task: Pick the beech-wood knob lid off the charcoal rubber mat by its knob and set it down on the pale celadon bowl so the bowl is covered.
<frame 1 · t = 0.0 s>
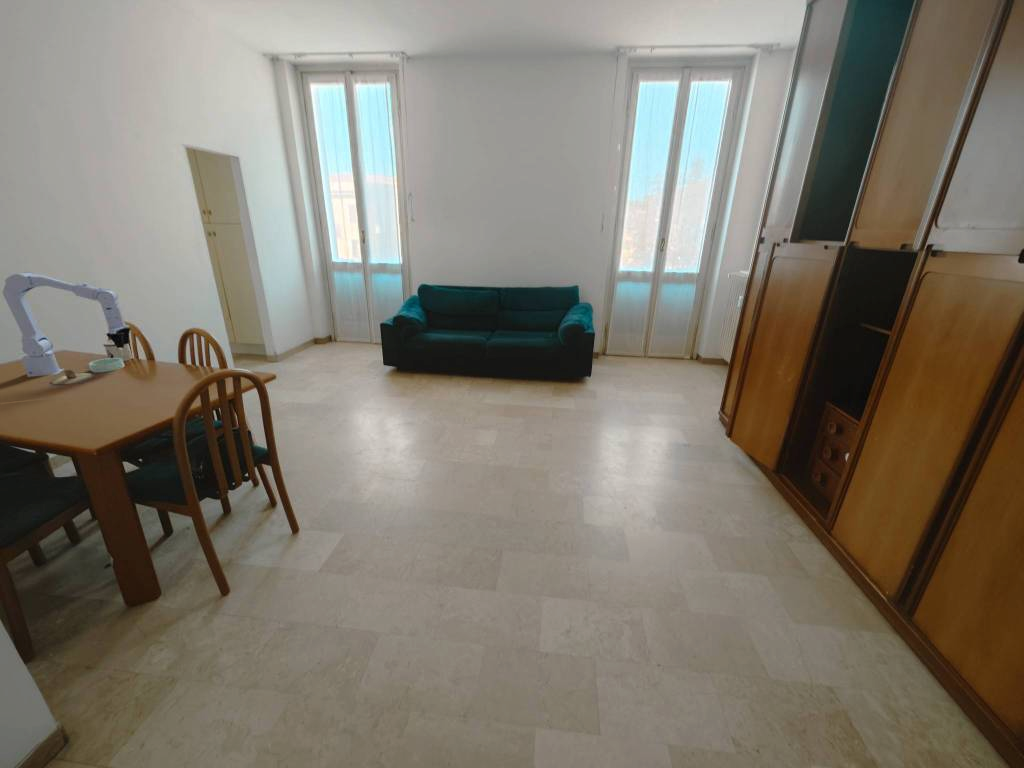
hand: (123, 345, 189), 10 cm above the table, fingers open, 7 cm apart
lid: (72, 379, 172), point 1 cm above the table, touching mat
mat: (73, 380, 173), on the table
teacup with lid: (122, 360, 200), on the table
bowl: (108, 369, 187), on the table
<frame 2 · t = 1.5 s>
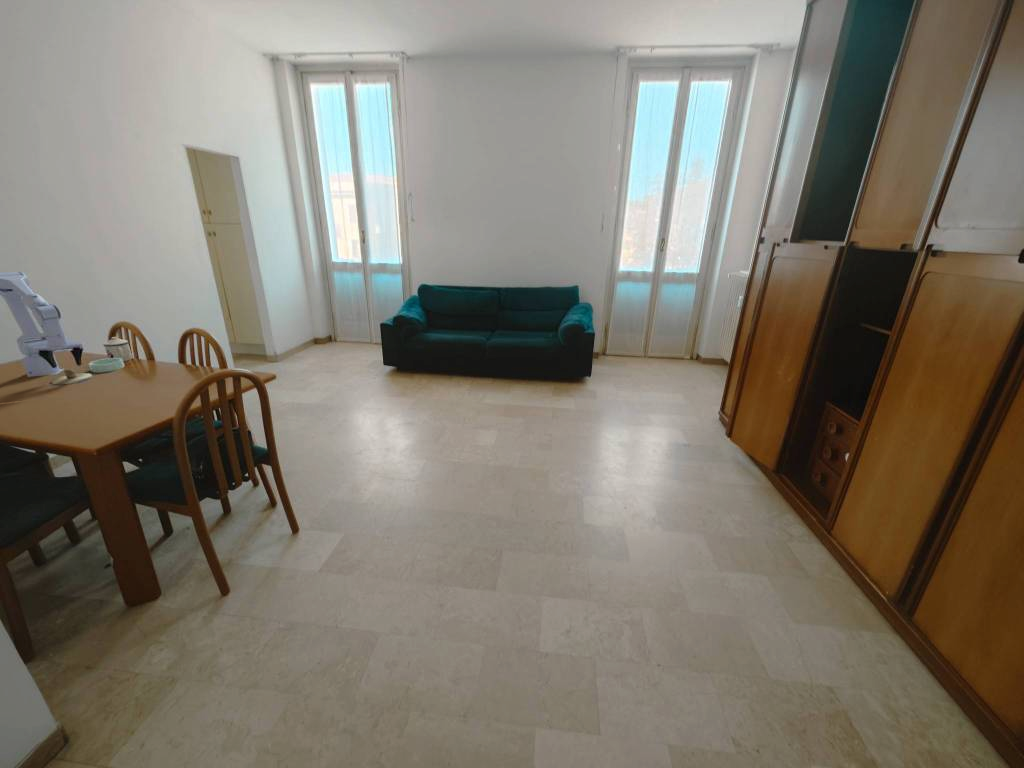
hand: (67, 366, 170), 7 cm above the table, fingers open, 7 cm apart
nothing on the table moved.
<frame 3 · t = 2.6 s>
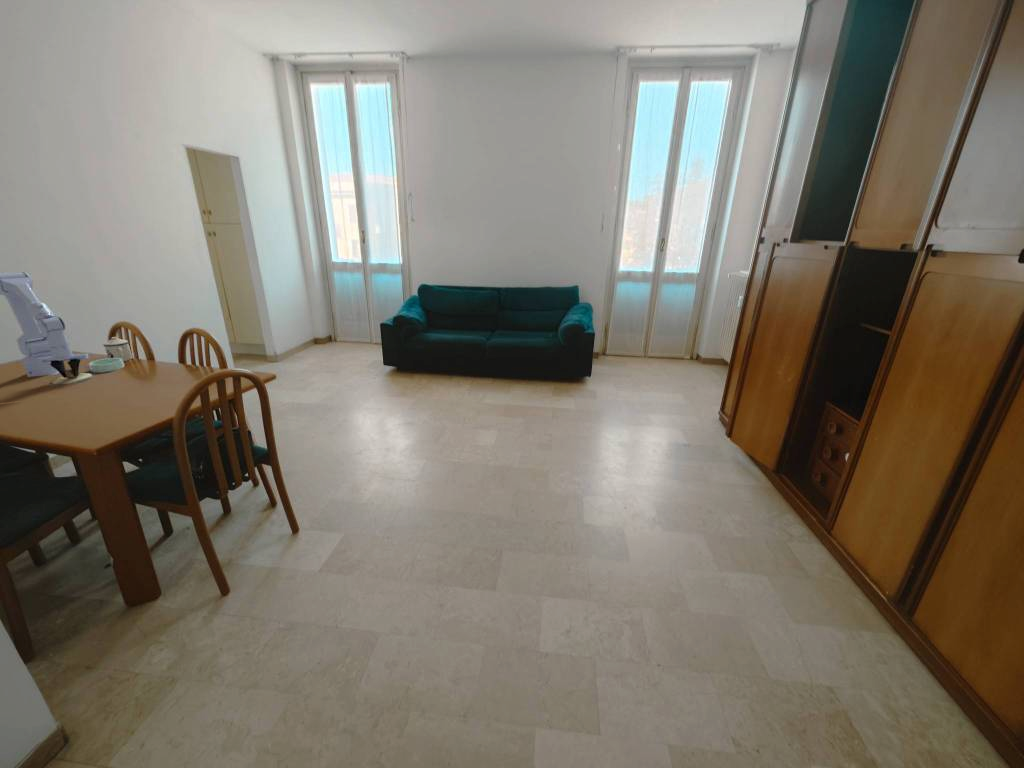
hand: (71, 376, 172), 2 cm above the table, fingers closed on lid, 3 cm apart
lid: (72, 379, 172), point 1 cm above the table, touching gripper, mat
everything else where it was.
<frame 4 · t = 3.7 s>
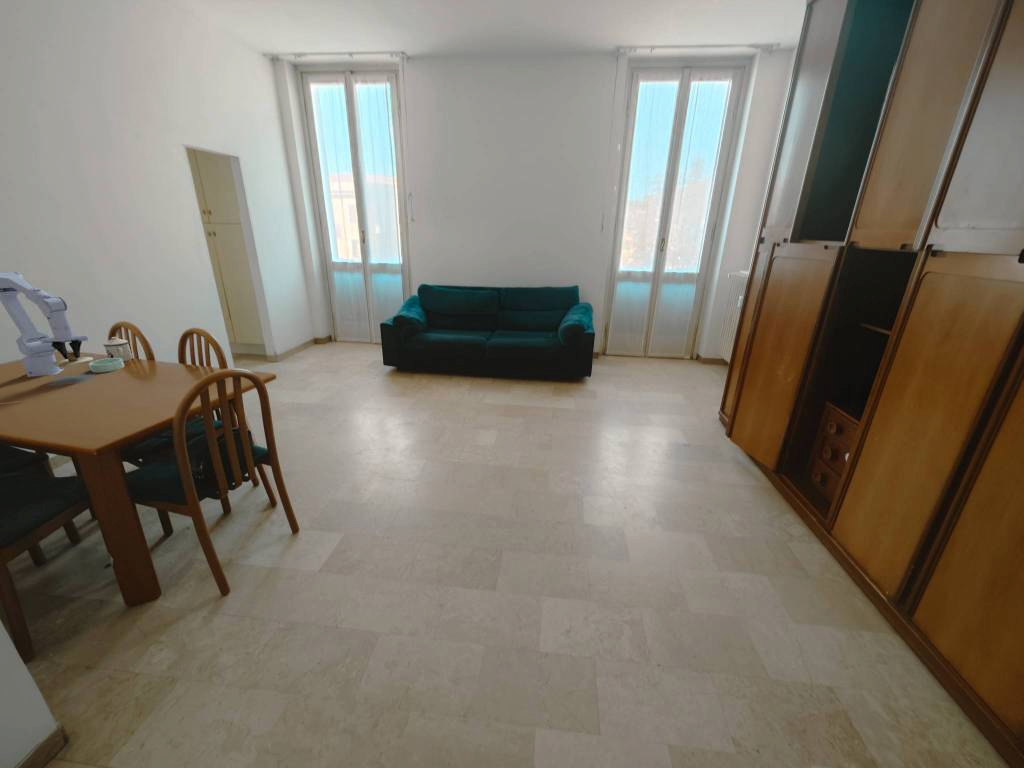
hand: (72, 358, 172), 9 cm above the table, fingers closed on lid, 3 cm apart
lid: (74, 362, 172), point 7 cm above the table, touching gripper
everything else where it was.
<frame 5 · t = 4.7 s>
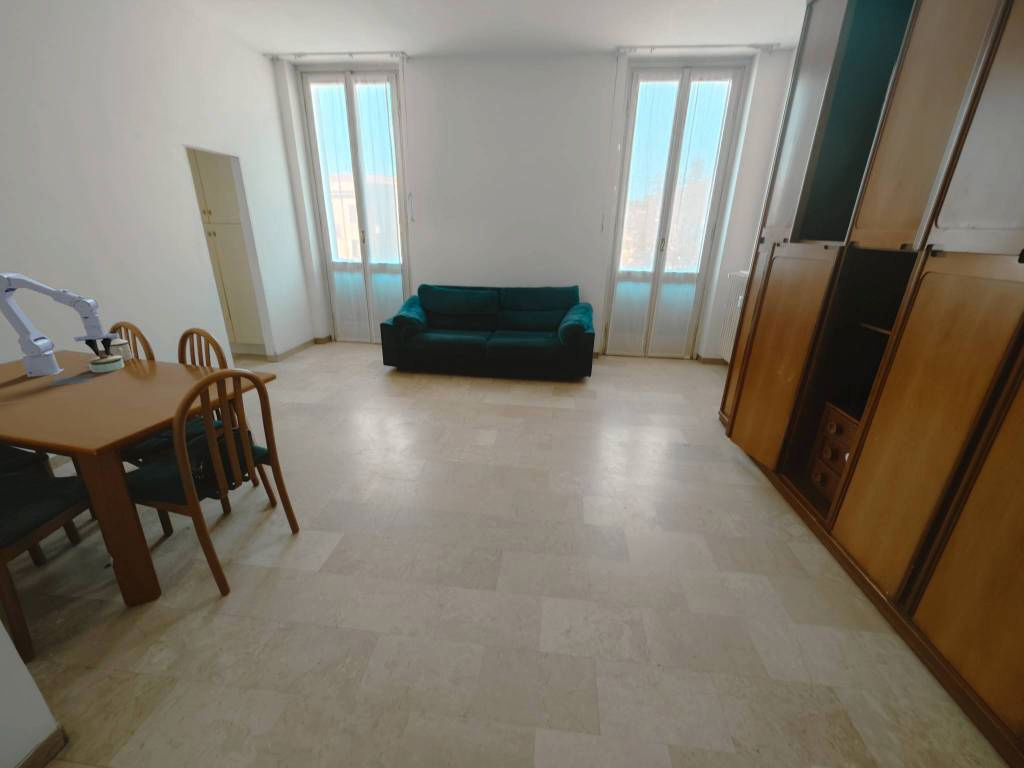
hand: (103, 354, 184), 7 cm above the table, fingers closed on lid, 3 cm apart
lid: (104, 359, 184), point 5 cm above the table, tilted 5°, touching gripper
everything else where it was.
when the fingers open (6 cm above the table, at t = 5.1 s): lid stays where it is, resting on bowl.
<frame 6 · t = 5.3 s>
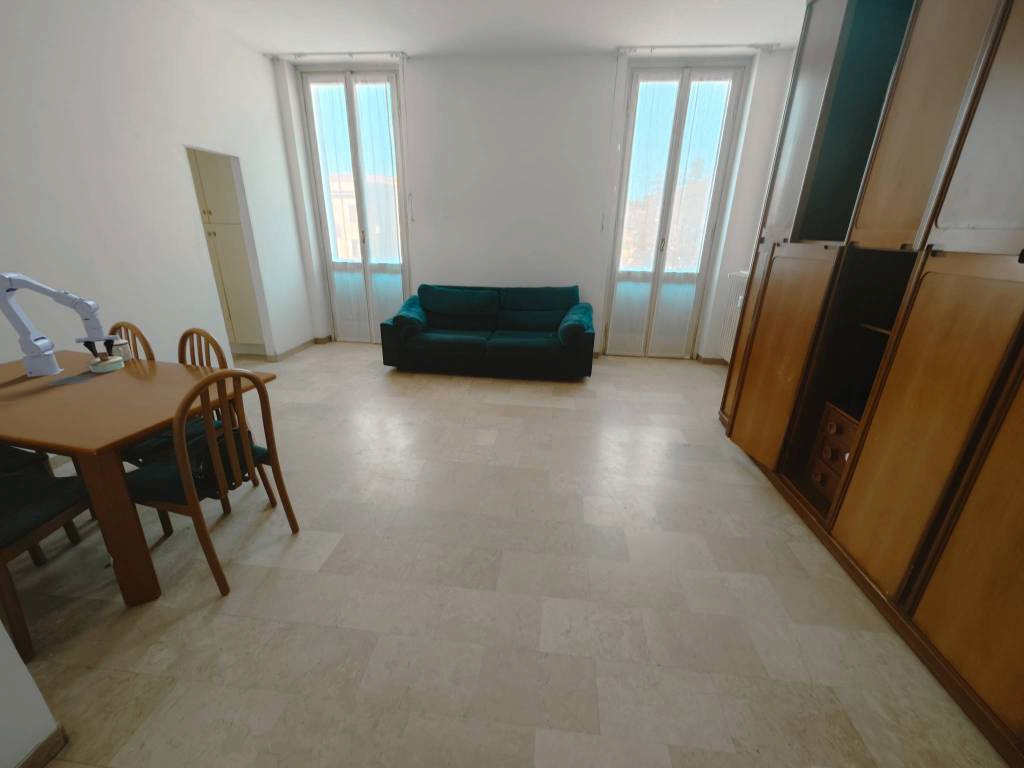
hand: (104, 356, 184), 6 cm above the table, fingers open, 4 cm apart
lid: (105, 361, 185), point 4 cm above the table, touching bowl
everything else where it was.
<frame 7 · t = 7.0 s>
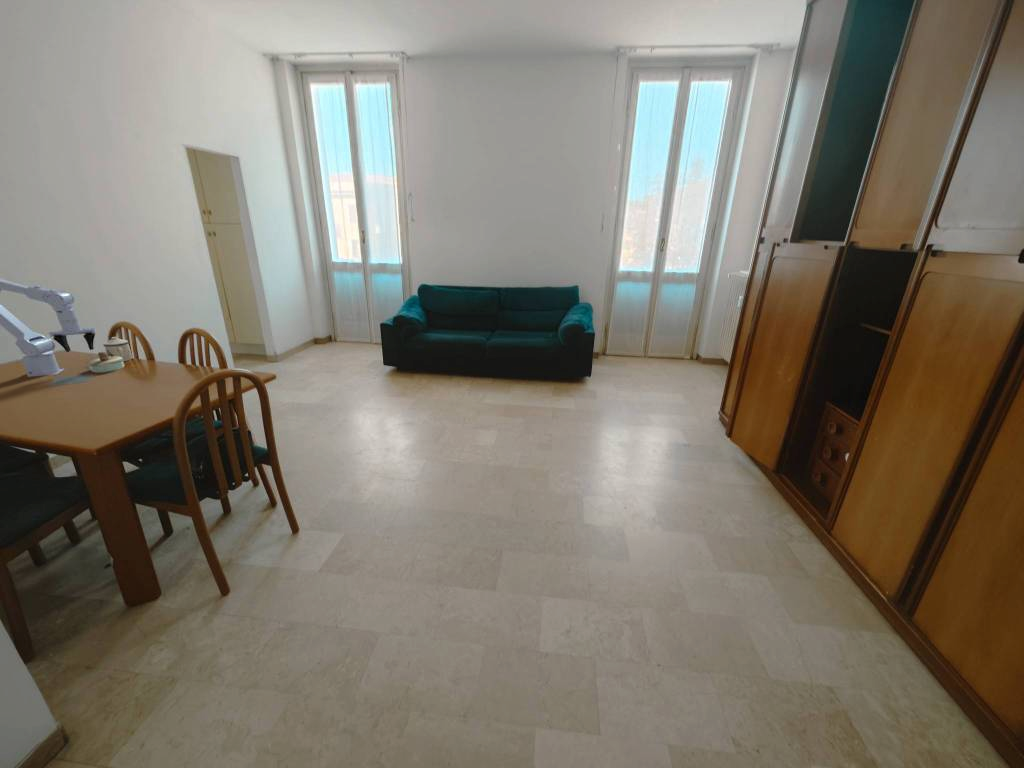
hand: (80, 350, 179), 10 cm above the table, fingers open, 7 cm apart
nothing on the table moved.
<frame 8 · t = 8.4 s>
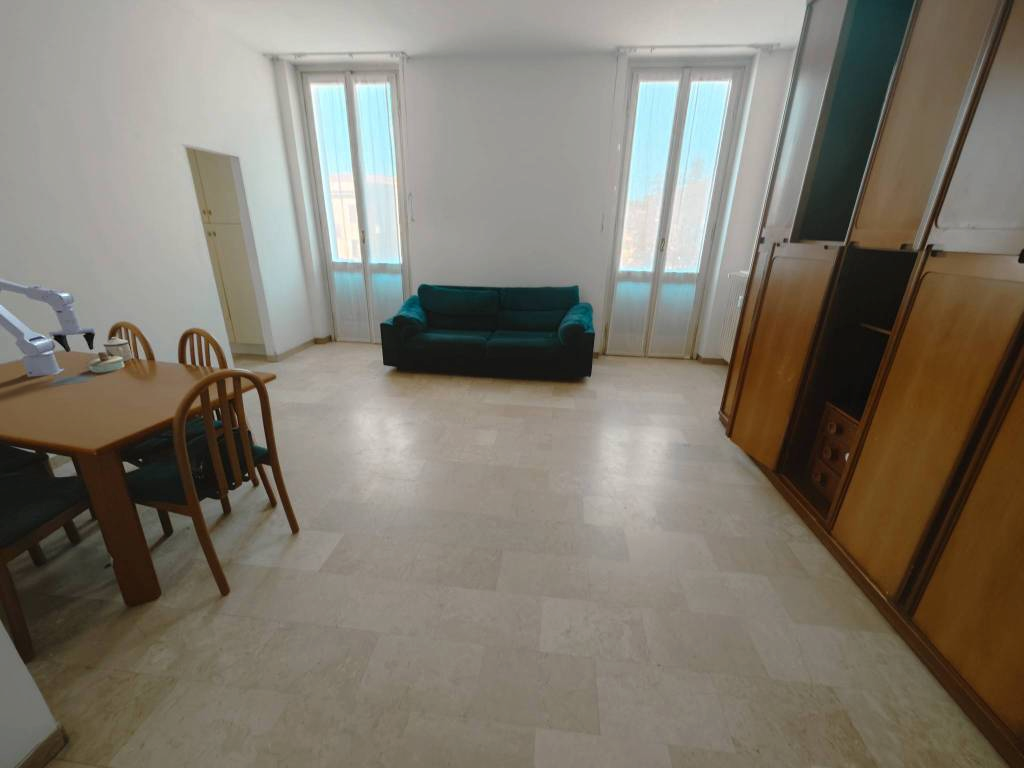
hand: (80, 350, 179), 10 cm above the table, fingers open, 7 cm apart
nothing on the table moved.
at the end: lid 0.6 cm off-centre on the bowl, point 4.0 cm above the bowl's base; lid tilted 0°; the gripper is holding nothing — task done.
